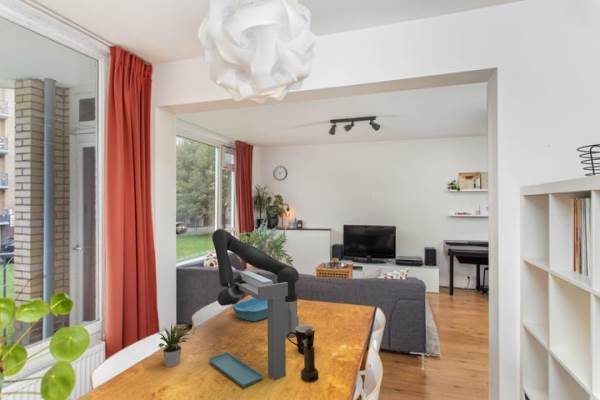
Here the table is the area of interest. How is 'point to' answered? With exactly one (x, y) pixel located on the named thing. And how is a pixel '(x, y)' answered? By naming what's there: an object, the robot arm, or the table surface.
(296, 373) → the table surface
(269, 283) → the grey rectangular box
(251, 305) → the casserole dish
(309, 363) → the mortar and pestle
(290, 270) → the robot arm
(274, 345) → the grey gallows post
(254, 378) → the teal serving tray
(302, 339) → the coffee mug
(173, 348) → the house plant
